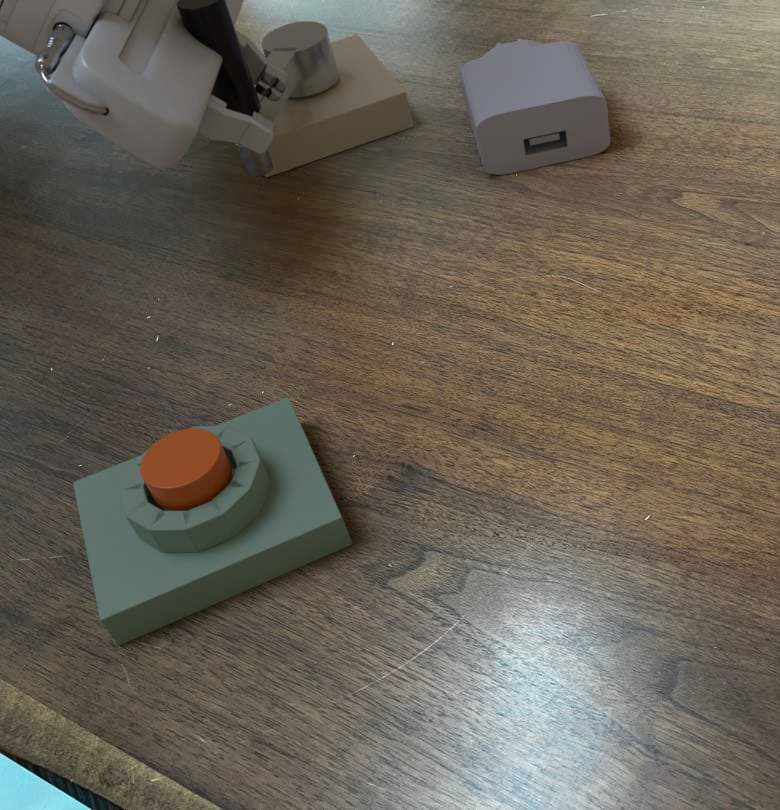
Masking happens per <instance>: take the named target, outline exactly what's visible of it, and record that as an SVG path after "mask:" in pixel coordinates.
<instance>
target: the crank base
mask: <svg viewBox="0 0 780 810" xmlns="http://www.w3.org/2000/svg"><path fill="white" fill-rule="evenodd" d="M330 43H331V46H332V50H333V53H334V57H335V61H336V64H337V68H338V72H339V78H338V80H337V81H336V83H335V84H334V85H333V86H331V87H330V88H328V89H326V90H325V91H322V92H320V93H317V94H314V95H311V96H306V97H289V98H288V99H287V101H286V102H285V104H284V105H283V107H282V108H281V110H280V111H279V113H278V114H277V116H276V117H275V119H274V120H273V123H274V124H275V126H276V130H275V134H274V139H273V142H272V143H271V145H270V146H269V148H268V150H269V153H270V156H271V159H272V162H273V169H272V170H271V171H270V172H268V173H267V174H264V175H263V176H264V177H265V179H266V178H269V177H272V176H276V175H279V174H282V173H284V172H287V171H289V170H292V169H295V168H298V167H301V166H304V165H308V164H310V163H313V162H316V161H318V160H321V159H324V158H328V157H330V156H333V155H335V154H338V153H341V152H344V151H347V150H351V149H353V148H356V147H359V146H362V145H364V144H367V143H370V142H373V141H377V140H380V139H382V138H385V137H389V136H390V135H393V134H396V133H399V132H402V131H406V130H407V129H411V128H413V127H414V121H413V116H412V112H411V107H410V103H409V99H408V94H407V91H406V90H405V89H404V88H403V86H402V85H401V83H399V82H398V80H397V79H396V78H395V76H394V75H393V74H391V72H390V71H389V70H388V68H386V67H385V65H384V63H382V61H380V59H379V58H378V57H377V56H376V55H375V53H374V52H373V51H372V50H371V49H370V47H369V46H368V45H367V44H366V43H365V41H364V40H363V39H362V38H361V36H360V35H358V33H356V34H352V35H350V36H346V37H344V38H341V39H337V40H334V41H330Z"/></svg>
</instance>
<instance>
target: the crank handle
mask: <svg viewBox="0 0 780 810" xmlns="http://www.w3.org/2000/svg"><path fill="white" fill-rule="evenodd" d="M177 9H178V11H179V14H180V17H181V19H182V22H183V25H184V27H185V28H186V30H187V31H188V32H189V33H190V34H191V35H192V36H193V37H194V38H195V39H197V40H198V41H199V42H201V43H202V44H203V45H205V46H206V47H208V48H210V49H212V50H214V51H215V52H216V53H218V54H219V55H220V56H221V57H222V59H223V61H222V64H221V67H220V70H219V73H218V76H217V78H216V81H215V84H214V87H213V90H212V93H211V94H212V95H213V96H215V97H217V98H219V99H220V100H222V101H224V102H225V103H226V104H227V105H226V109H229V110H232V111H235V112H239V113H242V114H245V115H248V116H251V115H252V113H253V112H254V111H255V112H257V113H258V114H260V115H262V116H263V117H264V118H265V119H267V120H270V121H272V122H273V120H274V119H275V117H276V116H277V114H278V113H279V111H280V110H281V108H282V107H283V105H284V104H285V102H286V101H287V99H288V98H289V97H306V96H311V95H314V94H317V93H320V92H322V91H325V90H326V89H328V88H330V87H331V86H333V85H334V84H335V83H336V81H337V80H338V78H339V72H338V68H337V64H336V61H335V57H334V53H333V50H332V46H331V40H330V36H329V33H328V29H327V28H328V27H326V25H324V24H322V23H320V22H317V21H309V20H304V21H303V20H302V21H296V22H291V23H287V24H284V25H281V26H279V27H276V28H274V29H272V30H271V31H269V32H268V33H267V34H265V35H264V37H263V38H262V41H261V48H262V51H263V55H264V56H265V57H266V58H267V59H268V61H269V62H271V63H272V64H274V65H275V66H277V67H279V68H280V69H282V70H284V71H285V72H286V73H287V74H288V76H289V80H288V84H287V87H286V89H285V91H284V93H283V94H282V96H281V98H280V99H279V100H278V101H271V100H269V99H267V98H266V97H265V96H262V95H260V94H259V93H257V92H256V89H255V84H254V83H253V80H252V77H251V74H250V71H249V68H248V66H247V63H246V60H245V57H244V54H243V51H242V48H241V45H240V42H239V39H238V36H237V33H236V31H237V30H236V26H235V27H234V24H233V21H232V18H231V15H230V12H229V9H228V6H227V3H226V0H179V1H178V2H177ZM234 144H235V146H236V150H237V152H238V155H239V157H240V161H241V163H242V166H243V169H244V171H245V173H246V175H247V176H249V177H261V176H264V174H267V173H268V172H270V171H271V170H272V169H273V162H272V159H271V156H270V153H269V150H268V149H267V151H266V152H265V153H262V154H259V153H256V152H254V151H252V150H251V149H249V148H247V147H245V146H244V145H242V144H240V143H238V142H237V143H234Z"/></svg>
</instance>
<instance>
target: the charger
mask: <svg viewBox="0 0 780 810" xmlns="http://www.w3.org/2000/svg"><path fill="white" fill-rule="evenodd" d="M459 77H460V83H461V87H462V94H463V98H464V99H463V100H464V103H465V104H464V105H465V110H466V113H467V116H468V119H469V123H470V126H471V130H472V133H473V137H474V140H475V141H474V142H475V144H476V147H477V151H478V155H479V157H480V161H481V164H482V168H483V170H484V172H486V173H487V174H491V175H497V176H502V175H509V174H514V173H519V172H523V171H524V172H525V171H529V170H533V169H537V168H542V167H546V166H552V165H556V164H561V163H566V162H571V161H576V160H579V159H580V160H581V159H585V158H589V157H592V156H596V155H598V154H601V153H602V152H604V151H605V150H606V149H607V148H608V147H610V145H611V133H610V132H611V131H610V121H609V110H608V101H607V100H606V98H605V96H604V94H603V92H602V89H601V88H600V86H599V83H598V81H597V79H596V77H595V75H594V73H593V71H592V69H591V67H590V65H589V62H588V61H587V59H586V57H585V54H584V53H583V51H582V48H581V47H580V45H579V44H578V43H576V42H574V41H570V40H561V41H555V42H549V43H543V42H539V41H536V40H531V39H527V38H525V39H523V38H521V37H520V38H517V39H516V41H511V42H506V43H501V42H497V43H496V44H495V46H494V47H493V48H491V49H490V50H489V51H487V52H486V53H485V54H483V55H482V56H481V57H478V58H474V59H472V60H470V61H468V62H466V63H465V64H463V65H462V67H460V69H459Z"/></svg>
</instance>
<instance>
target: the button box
mask: <svg viewBox="0 0 780 810" xmlns="http://www.w3.org/2000/svg"><path fill="white" fill-rule="evenodd" d="M192 428H198V429H204V430H207V431H210V432H211V433H213V434H214V435H216V436H217V438H218V439H219V441H220V443H221V445H222V447H223V449H224V451H225V453H226V455H227V457H228V459H229V461H230V464H231V467H232V474H231V478H230V481H229V483H228V485H227V486H226V488H225V489H224V490H222V491H221V492H220V493H219V494H218V495H217V496H216V497H215V498H214V499H213V500H212V501H210V502H207V503H205V504H203V505H200V506H198V507H195V508H193V509H190V510H187V511H172V510H168V509H165V508H163V507H162V506H160V505H159V504H158V503H157V502H156V501H155V499H154V498H153V496H152V494H151V492H150V491H149V489H148V487H147V485H146V484H145V482H144V480H143V478H142V476H141V472H140V466H141V462H142V459H143V457H144V455H145V454H146V452H147V451H148V450H149V449H150V447H149V448H148V449H147V450H145V451H144V452H143V453H142V454H141V455H138V456H136V457H133V458H130V459H128V460H126V461H123V462H121V463H118V464H115V465H113V466H110V467H108V468H105V469H103V470H101V471H97V472H95V473H93V474H90V475H87V476H84V477H82V478H80V479H78V480H75V481H73V482H72V484H73V490H74V493H75V494H74V496H75V500H76V504H77V505H76V506H77V510H78V516H79V521H80V525H81V530H82V535H83V541H84V545H85V551H86V556H87V562H88V566H89V570H90V576H91V581H92V586H93V591H94V596H95V602H96V607H97V611H98V617H99V621H100V622H101V625H102V626H103V627H104V628H105V630H106V631H107V632H108V634H109V635H110V637H111V638H112V639H113V641H114V642H115V643H116V645H117V646H119V647H120V646H122V645H124V644H127V643H129V642H131V641H133V640H135V639H138V638H140V637H143V636H146V635H147V634H149V633H152V632H154V631H156V630H159V629H162V628H163V627H166V626H168V625H170V624H172V623H175V622H178V621H179V620H182V619H185V618H187V617H189V616H191V615H194V614H196V613H198V612H200V611H202V610H205V609H207V608H209V607H212V606H214V605H217V604H219V603H221V602H224V601H226V600H228V599H231V598H232V597H235V596H237V595H239V594H242V593H244V592H246V591H249V590H251V589H253V588H256V587H258V586H260V585H262V584H265V583H268V582H270V581H272V580H274V579H276V578H279V577H281V576H283V575H285V574H287V573H290V572H292V571H294V570H297V569H299V568H302V567H304V566H306V565H309V564H311V563H314V562H315V561H318V560H320V559H322V558H325V557H327V556H329V555H331V554H333V553H337V552H339V551H341V550H344V549H346V548H347V547H350V546H352V545H353V540H352V538H351V536H350V533H349V531H348V528H347V526H346V523H345V521H344V518H343V515H342V513H341V511H340V509H339V507H338V505H337V503H336V500H335V497H334V495H333V493H332V491H331V489H330V487H329V484H328V482H327V480H326V477H325V475H324V472H323V471H322V468H321V466H320V463H319V461H318V460H317V457H316V455H315V452H314V449H313V448H312V446H311V444H310V441H309V439H308V437H307V434H306V433H305V430H304V428H303V426H302V424H301V421H300V419H299V416H298V414H297V412H296V410H295V408H294V406H293V403H292V401H291V398H290V396H287V397H284V398H282V399H280V400H277V401H274V402H272V403H269V404H267V405H264V406H262V407H259V408H257V409H254V410H252V411H248V412H246V413H243V414H242V415H238V416H236V417H234V418H232V419H228V420H227V421H224V422H221V423H219V424H216V425H195V426H192V427H188V429H192Z"/></svg>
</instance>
